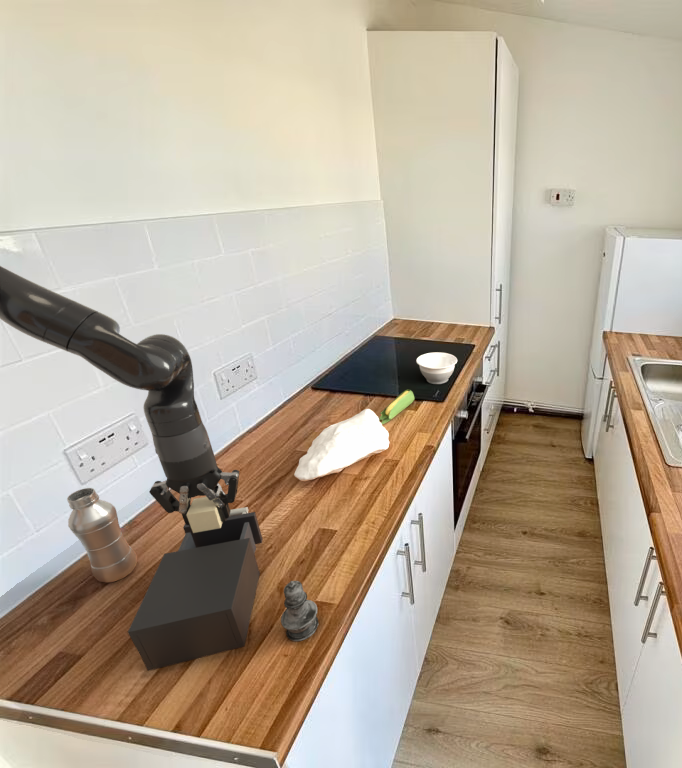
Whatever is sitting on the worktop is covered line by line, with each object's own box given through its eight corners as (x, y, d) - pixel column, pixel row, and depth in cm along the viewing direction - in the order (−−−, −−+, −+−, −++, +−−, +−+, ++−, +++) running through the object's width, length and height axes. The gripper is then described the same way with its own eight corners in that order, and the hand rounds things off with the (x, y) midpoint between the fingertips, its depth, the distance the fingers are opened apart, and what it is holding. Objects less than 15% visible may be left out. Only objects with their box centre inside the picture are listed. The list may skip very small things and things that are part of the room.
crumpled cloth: (411, 427, 137) (405, 401, 134) (357, 498, 106) (347, 467, 103) (345, 427, 142) (338, 402, 139) (274, 495, 111) (262, 465, 107)
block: (192, 533, 81) (186, 514, 79) (199, 516, 84) (193, 498, 82) (220, 528, 82) (214, 510, 80) (226, 512, 86) (220, 494, 84)
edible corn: (418, 400, 157) (417, 389, 155) (388, 427, 139) (387, 415, 137) (405, 397, 158) (404, 386, 156) (374, 424, 141) (373, 412, 139)
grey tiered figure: (283, 620, 79) (271, 573, 74) (318, 607, 81) (308, 562, 76) (285, 648, 74) (271, 601, 69) (321, 634, 77) (311, 588, 72)
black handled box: (179, 590, 83) (164, 553, 79) (260, 573, 88) (249, 537, 83) (148, 671, 70) (127, 632, 66) (244, 646, 74) (231, 608, 70)
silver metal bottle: (89, 581, 84) (45, 501, 75) (126, 555, 90) (90, 479, 81) (111, 591, 82) (70, 511, 73) (148, 564, 88) (114, 487, 79)
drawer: (202, 533, 95) (192, 506, 91) (266, 522, 99) (259, 495, 95) (171, 612, 78) (158, 582, 75) (250, 595, 82) (240, 565, 79)
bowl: (449, 390, 165) (448, 370, 161) (410, 384, 168) (409, 364, 164) (462, 374, 179) (462, 355, 175) (427, 368, 182) (426, 350, 178)
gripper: (235, 431, 81) (254, 501, 88) (143, 442, 76) (172, 515, 84) (226, 453, 75) (247, 527, 82) (125, 467, 70) (158, 543, 78)
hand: (209, 521), depth 83 cm, fingers closed on block, 4 cm apart
